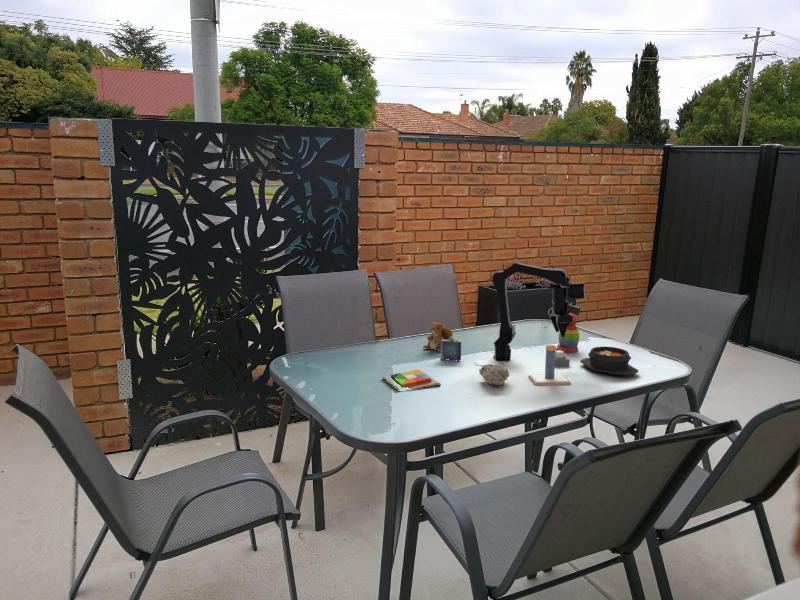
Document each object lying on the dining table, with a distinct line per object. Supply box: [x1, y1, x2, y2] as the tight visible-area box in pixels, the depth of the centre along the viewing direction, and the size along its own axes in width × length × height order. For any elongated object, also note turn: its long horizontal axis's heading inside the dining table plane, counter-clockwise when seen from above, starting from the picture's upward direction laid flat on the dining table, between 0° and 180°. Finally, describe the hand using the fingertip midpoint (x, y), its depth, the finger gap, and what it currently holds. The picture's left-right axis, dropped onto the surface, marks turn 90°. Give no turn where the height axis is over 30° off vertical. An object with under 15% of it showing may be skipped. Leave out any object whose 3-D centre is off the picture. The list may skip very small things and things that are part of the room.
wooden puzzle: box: [381, 368, 442, 391], centre depth 236 cm, size 18×19×4 cm
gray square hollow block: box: [555, 354, 571, 367], centre depth 260 cm, size 7×7×3 cm
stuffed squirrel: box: [422, 321, 454, 353], centre depth 283 cm, size 10×14×13 cm
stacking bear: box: [556, 312, 580, 354], centre depth 280 cm, size 11×10×18 cm
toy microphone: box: [544, 344, 557, 379], centre depth 236 cm, size 4×4×13 cm
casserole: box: [579, 346, 639, 376], centre depth 251 cm, size 25×19×8 cm
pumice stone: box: [478, 363, 510, 386], centre depth 233 cm, size 14×12×8 cm
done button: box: [555, 350, 565, 359], centre depth 259 cm, size 4×4×4 cm
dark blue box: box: [440, 335, 462, 362], centre depth 265 cm, size 9×3×11 cm, turn 71°
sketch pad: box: [528, 373, 572, 386], centre depth 238 cm, size 14×10×1 cm
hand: (560, 334), depth 256 cm, fingers open, 9 cm apart
